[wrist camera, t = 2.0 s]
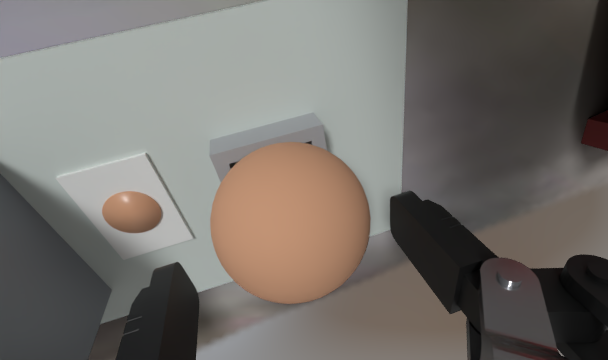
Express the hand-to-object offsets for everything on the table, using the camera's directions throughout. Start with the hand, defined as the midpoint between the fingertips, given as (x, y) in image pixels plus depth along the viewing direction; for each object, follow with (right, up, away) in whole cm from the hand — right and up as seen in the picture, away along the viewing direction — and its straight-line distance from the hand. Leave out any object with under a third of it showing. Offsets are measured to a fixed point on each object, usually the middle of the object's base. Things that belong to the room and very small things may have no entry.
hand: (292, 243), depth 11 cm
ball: (0, +1, 0) cm, 1 cm away
